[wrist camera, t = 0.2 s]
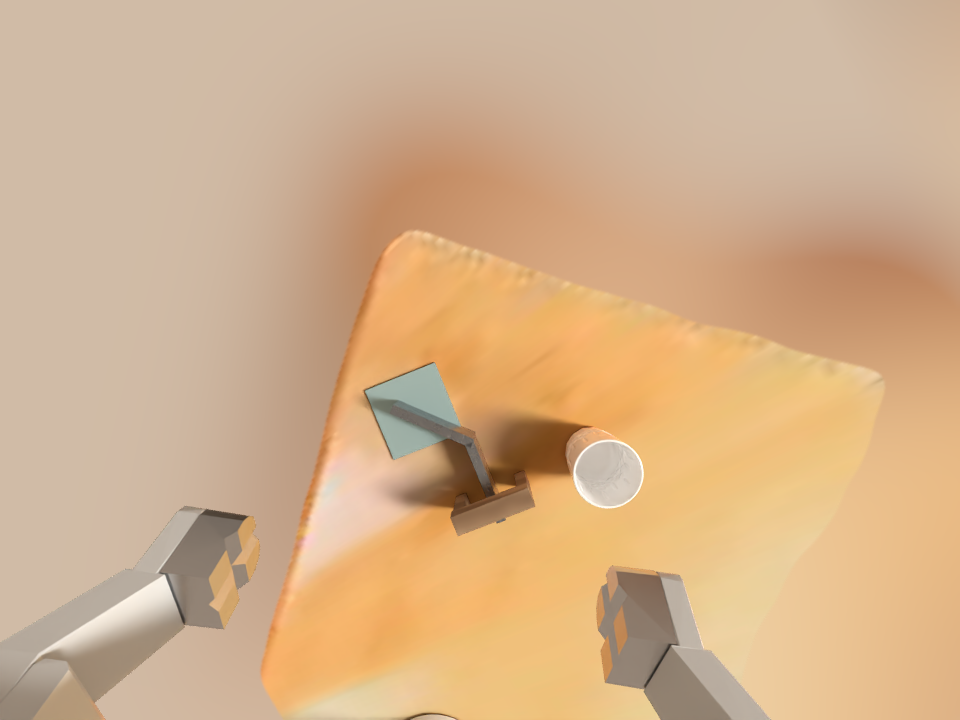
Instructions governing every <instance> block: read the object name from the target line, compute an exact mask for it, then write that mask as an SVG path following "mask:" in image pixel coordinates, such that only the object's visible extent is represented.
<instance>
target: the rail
mask: <svg viewBox="0 0 960 720" xmlns="http://www.w3.org/2000/svg"><path fill="white" fill-rule="evenodd" d="M390 414H392V415H394V416H397V417H399V418H401V419H404V420H406V421H408V422H411V423H413V424H416V425H418V426H420V427H423V428H425V429H427V430H430V431H432V432H434V433H437V434H439V435H441V436H444V437H446V438H449V439H451V440H453V441H456V442H458V443H460V444H463V445H465V447H466V449H467V452H468V454H469V456H470V459H471V461H472V464H473V466H474V469H475V471H476V473H477V476H478V478H479V481H480V483H481V486H482V488H483V490H484V493H485V495H486V498H488V497H490V496H493V495H495V494H498V493H499V492H498V490H497V488H496V485H495V483H494V480H493V478H492V475H491V473H490V470H489V468H488V466H487V463H486V461H485V458H484V456H483V453H482V451H481V448H480V446H479V443H478V441H477V439H476V436H475V432H474V431H471V430H469V429H466V428H464V427H462V426H458V425H456V424H453V423H451V422H449V421H446V420H444V419H442V418H439V417H437V416H435V415H432V414H430V413H428V412H425V411H423V410H421V409H418V408H416V407H413V406H411V405H409V404H406V403H404V402H402V401H399V400H398V401H397V402H396V403H395V404H393V406H392V409H391V411H390ZM505 520H506V518H504V519H501V520H499V521H496V522H497V523H500V522H502V521H505Z"/></svg>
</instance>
